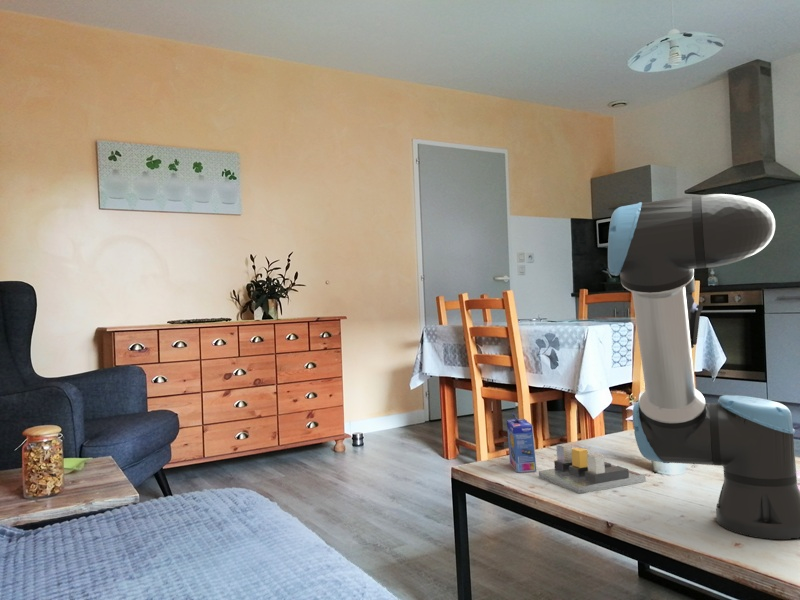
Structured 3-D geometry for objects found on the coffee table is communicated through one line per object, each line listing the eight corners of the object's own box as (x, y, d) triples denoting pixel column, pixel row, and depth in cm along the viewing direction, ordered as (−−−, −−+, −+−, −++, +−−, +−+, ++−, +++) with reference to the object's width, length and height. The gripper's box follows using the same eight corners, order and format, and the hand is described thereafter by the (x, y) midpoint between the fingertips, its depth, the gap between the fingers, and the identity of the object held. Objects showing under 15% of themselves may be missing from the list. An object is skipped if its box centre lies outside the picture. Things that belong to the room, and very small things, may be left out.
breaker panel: (645, 481, 141) (643, 449, 141) (579, 493, 134) (577, 460, 134) (600, 466, 156) (598, 437, 156) (538, 477, 149) (537, 447, 149)
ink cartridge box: (508, 463, 164) (505, 411, 164) (528, 462, 164) (525, 409, 164) (515, 473, 154) (512, 417, 154) (537, 472, 154) (533, 415, 155)
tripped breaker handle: (588, 466, 143) (587, 449, 143) (580, 468, 142) (579, 451, 142) (580, 463, 146) (579, 447, 146) (572, 465, 145) (571, 448, 145)
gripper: (684, 277, 148) (691, 372, 147) (643, 278, 143) (649, 377, 142) (710, 274, 141) (717, 374, 140) (667, 276, 136) (674, 379, 135)
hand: (683, 376), depth 141 cm, fingers closed
